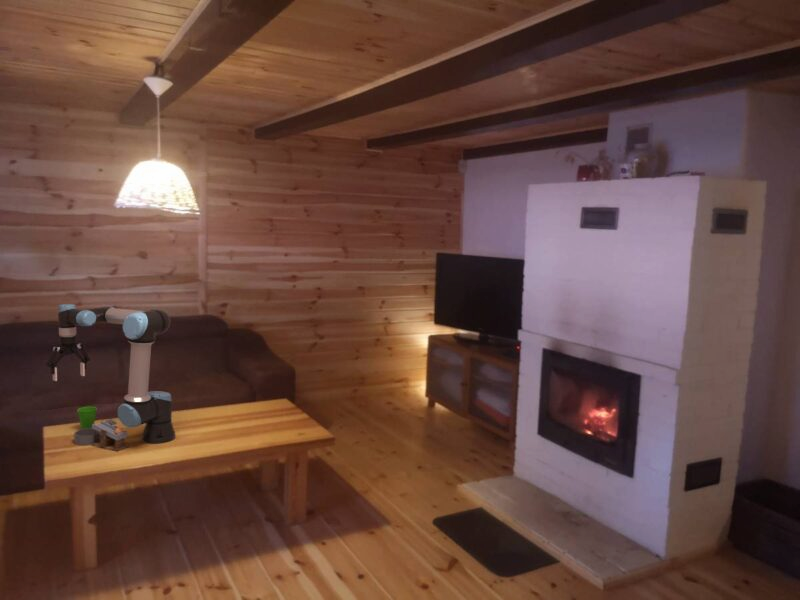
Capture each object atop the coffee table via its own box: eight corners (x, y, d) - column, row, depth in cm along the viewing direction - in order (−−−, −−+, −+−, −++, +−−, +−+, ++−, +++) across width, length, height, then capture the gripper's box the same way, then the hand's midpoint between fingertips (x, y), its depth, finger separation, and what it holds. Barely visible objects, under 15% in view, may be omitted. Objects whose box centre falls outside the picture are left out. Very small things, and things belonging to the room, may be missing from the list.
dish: (106, 439, 304) (106, 430, 303) (86, 446, 293) (86, 437, 293) (88, 435, 308) (88, 426, 307) (69, 442, 297) (68, 433, 297)
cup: (89, 434, 310) (89, 412, 309) (73, 432, 312) (72, 410, 310) (101, 428, 319) (101, 407, 317) (85, 426, 321) (85, 405, 319)
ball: (124, 434, 294) (124, 427, 293) (118, 437, 291) (118, 429, 290) (118, 433, 295) (118, 426, 295) (112, 435, 292) (112, 428, 291)
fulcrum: (130, 446, 297) (130, 428, 296) (115, 452, 288) (115, 434, 287) (104, 440, 302) (104, 423, 301) (89, 446, 294) (89, 428, 293)
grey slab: (136, 433, 300) (137, 427, 300) (117, 440, 290) (118, 434, 289) (110, 421, 306) (111, 415, 305) (91, 427, 295) (92, 422, 295)
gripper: (88, 331, 321) (89, 372, 323) (37, 337, 300) (38, 381, 303) (96, 333, 316) (97, 374, 319) (45, 339, 296) (46, 384, 299)
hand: (69, 378), depth 311 cm, fingers open, 13 cm apart
